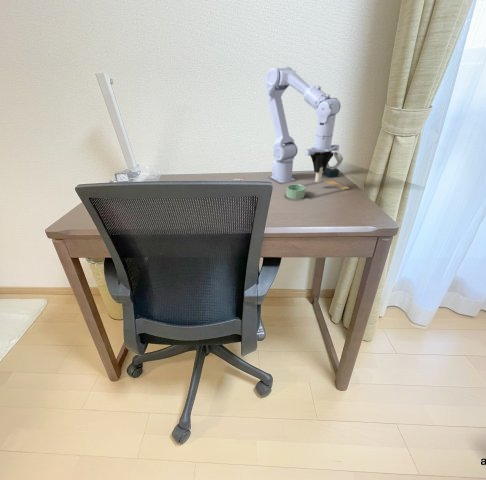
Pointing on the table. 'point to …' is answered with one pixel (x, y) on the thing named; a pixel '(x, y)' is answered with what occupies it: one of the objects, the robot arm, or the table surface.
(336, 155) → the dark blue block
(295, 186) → the pen pot
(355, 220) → the table surface
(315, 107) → the robot arm
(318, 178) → the marker
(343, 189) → the cork mat
